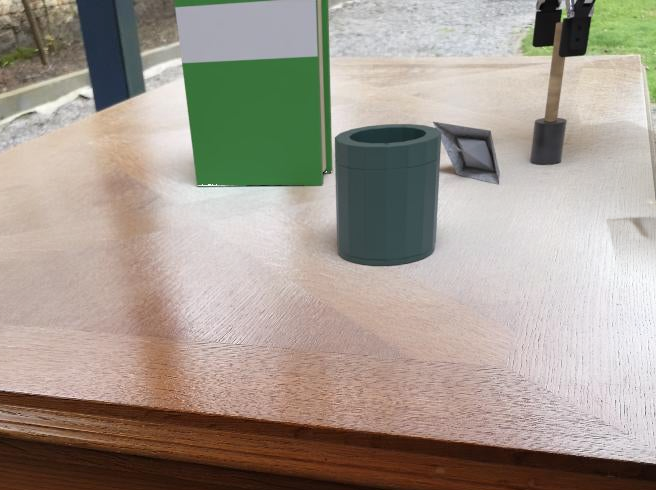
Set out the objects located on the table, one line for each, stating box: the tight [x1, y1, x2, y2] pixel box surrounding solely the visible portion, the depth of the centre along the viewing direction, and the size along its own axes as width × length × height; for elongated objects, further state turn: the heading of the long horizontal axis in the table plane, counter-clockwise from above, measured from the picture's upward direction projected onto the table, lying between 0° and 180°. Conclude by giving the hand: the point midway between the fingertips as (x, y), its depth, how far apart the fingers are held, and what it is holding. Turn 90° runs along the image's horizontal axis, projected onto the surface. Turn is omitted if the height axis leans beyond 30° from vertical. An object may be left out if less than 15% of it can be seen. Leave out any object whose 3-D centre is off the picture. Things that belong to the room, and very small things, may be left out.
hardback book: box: [173, 0, 333, 187], centre depth 102 cm, size 18×7×24 cm, turn 75°
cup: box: [334, 123, 442, 267], centre depth 78 cm, size 10×10×11 cm
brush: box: [529, 21, 568, 166], centre depth 101 cm, size 4×4×16 cm
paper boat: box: [432, 121, 501, 185], centre depth 100 cm, size 12×6×9 cm
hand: (557, 51), depth 98 cm, fingers open, 9 cm apart
